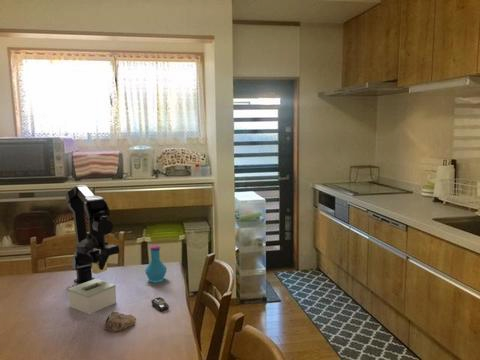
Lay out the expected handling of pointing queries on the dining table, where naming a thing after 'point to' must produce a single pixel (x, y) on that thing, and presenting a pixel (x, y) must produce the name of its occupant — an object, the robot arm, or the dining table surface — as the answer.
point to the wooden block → (98, 267)
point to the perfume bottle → (155, 266)
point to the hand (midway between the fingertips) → (99, 269)
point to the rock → (118, 321)
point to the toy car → (160, 303)
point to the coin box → (92, 296)
